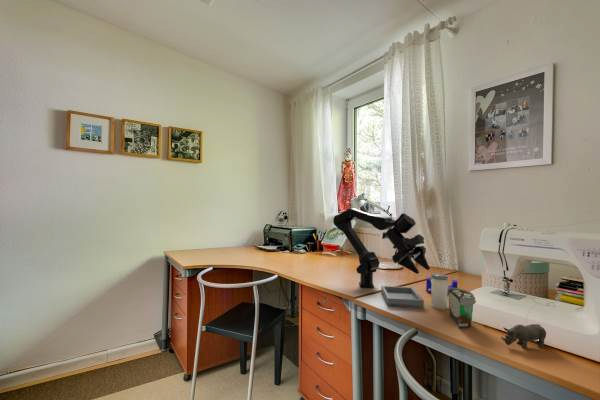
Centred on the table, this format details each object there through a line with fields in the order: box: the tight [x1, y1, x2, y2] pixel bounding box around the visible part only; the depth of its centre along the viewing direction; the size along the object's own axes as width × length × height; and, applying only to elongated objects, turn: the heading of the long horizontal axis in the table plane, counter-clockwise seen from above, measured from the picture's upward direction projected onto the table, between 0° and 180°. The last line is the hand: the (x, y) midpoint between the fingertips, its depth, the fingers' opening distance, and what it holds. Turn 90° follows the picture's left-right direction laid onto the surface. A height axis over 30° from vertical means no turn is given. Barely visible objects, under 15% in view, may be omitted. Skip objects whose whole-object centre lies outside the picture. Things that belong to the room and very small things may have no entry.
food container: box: [448, 287, 477, 330], centre depth 92 cm, size 12×6×10 cm, turn 168°
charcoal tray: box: [380, 285, 425, 309], centre depth 113 cm, size 16×13×3 cm
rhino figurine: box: [500, 323, 547, 350], centre depth 78 cm, size 4×14×6 cm, turn 97°
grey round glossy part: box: [430, 272, 449, 310], centre depth 106 cm, size 6×6×12 cm
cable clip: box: [425, 276, 458, 294], centre depth 123 cm, size 12×4×6 cm, turn 68°
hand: (423, 271), depth 111 cm, fingers open, 9 cm apart
